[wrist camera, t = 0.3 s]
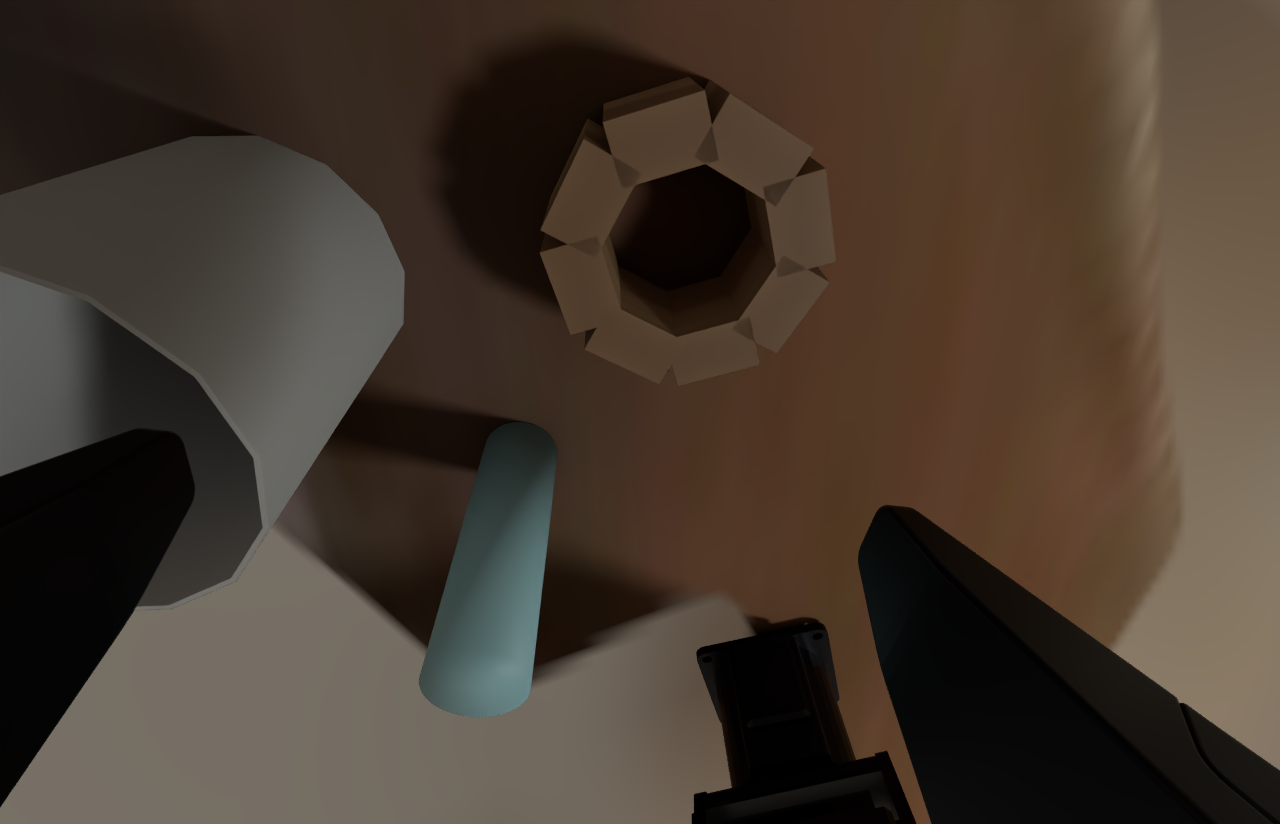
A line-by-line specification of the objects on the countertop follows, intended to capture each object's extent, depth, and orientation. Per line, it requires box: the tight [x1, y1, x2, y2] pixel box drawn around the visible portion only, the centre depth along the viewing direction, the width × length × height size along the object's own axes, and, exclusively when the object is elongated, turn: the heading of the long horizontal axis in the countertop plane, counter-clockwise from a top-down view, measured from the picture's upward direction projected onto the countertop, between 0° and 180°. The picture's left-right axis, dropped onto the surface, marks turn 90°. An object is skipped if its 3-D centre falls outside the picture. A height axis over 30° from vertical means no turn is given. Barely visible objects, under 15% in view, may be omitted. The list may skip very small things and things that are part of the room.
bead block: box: [540, 77, 836, 386], centre depth 18 cm, size 8×8×4 cm
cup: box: [0, 136, 404, 610], centre depth 16 cm, size 8×8×10 cm
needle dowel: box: [419, 422, 557, 717], centre depth 20 cm, size 3×3×10 cm
